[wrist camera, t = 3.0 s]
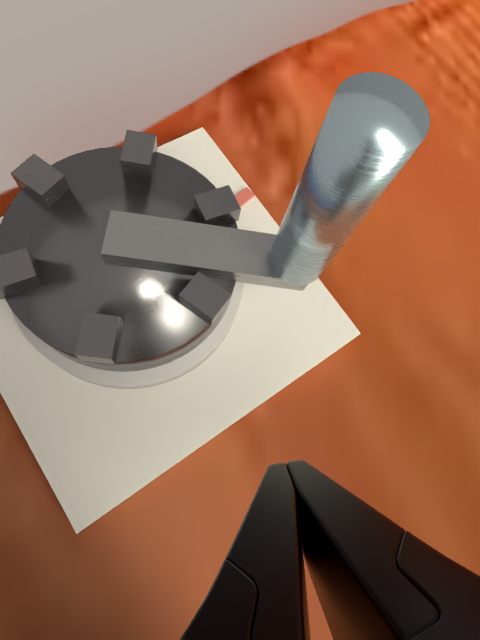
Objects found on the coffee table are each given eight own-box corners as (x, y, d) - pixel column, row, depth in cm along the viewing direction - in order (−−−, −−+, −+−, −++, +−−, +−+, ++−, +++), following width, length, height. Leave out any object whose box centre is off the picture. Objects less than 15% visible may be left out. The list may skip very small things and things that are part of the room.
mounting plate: (354, 338, 25) (376, 323, 22) (81, 530, 20) (64, 543, 17) (201, 138, 28) (203, 102, 25) (-66, 259, 23) (-101, 232, 20)
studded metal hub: (-13, 359, 19) (-311, 218, 7) (47, 161, 22) (-94, -134, 11) (299, 394, 20) (444, 320, 9) (308, 202, 24) (418, -24, 12)
